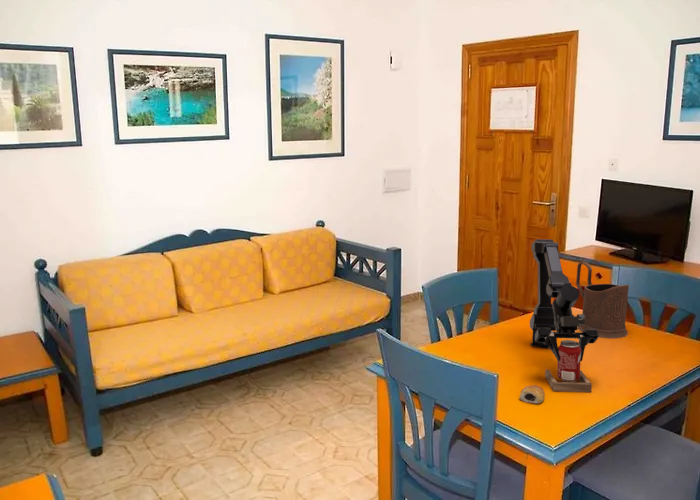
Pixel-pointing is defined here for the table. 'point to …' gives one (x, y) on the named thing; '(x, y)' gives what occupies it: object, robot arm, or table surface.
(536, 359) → the table surface
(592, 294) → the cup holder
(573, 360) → the soda can
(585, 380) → the frame
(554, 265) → the robot arm
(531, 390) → the pastry
